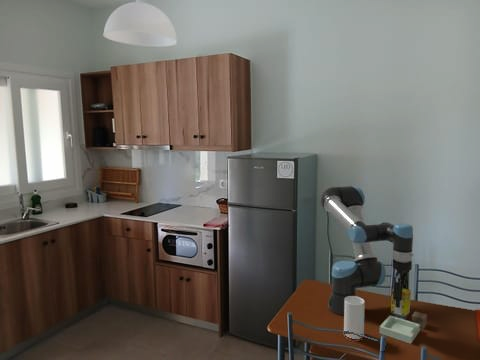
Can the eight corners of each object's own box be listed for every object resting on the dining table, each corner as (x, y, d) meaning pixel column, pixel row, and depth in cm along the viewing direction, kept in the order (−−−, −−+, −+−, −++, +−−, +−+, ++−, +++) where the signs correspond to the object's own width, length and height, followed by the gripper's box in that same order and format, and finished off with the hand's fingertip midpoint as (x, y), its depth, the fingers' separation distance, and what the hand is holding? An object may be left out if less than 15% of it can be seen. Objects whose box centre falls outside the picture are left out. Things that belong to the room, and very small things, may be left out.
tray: (379, 333, 157) (379, 326, 156) (389, 321, 166) (389, 315, 166) (410, 343, 148) (411, 337, 148) (419, 330, 158) (419, 324, 158)
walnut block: (411, 325, 163) (412, 315, 162) (414, 321, 166) (415, 311, 166) (423, 329, 159) (424, 318, 159) (426, 324, 163) (427, 314, 162)
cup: (364, 341, 151) (365, 305, 149) (344, 339, 152) (345, 303, 151) (362, 331, 159) (363, 296, 157) (343, 329, 160) (343, 295, 159)
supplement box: (390, 314, 156) (391, 290, 155) (396, 309, 160) (396, 285, 159) (404, 318, 152) (405, 294, 151) (409, 313, 156) (410, 289, 155)
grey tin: (393, 320, 168) (393, 305, 167) (396, 315, 171) (397, 302, 171) (404, 323, 164) (405, 309, 164) (407, 319, 168) (408, 305, 167)
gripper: (404, 267, 144) (402, 322, 146) (417, 255, 158) (416, 305, 161) (385, 264, 149) (384, 316, 151) (400, 252, 163) (398, 300, 166)
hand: (400, 310), depth 156 cm, fingers closed on supplement box, 6 cm apart
